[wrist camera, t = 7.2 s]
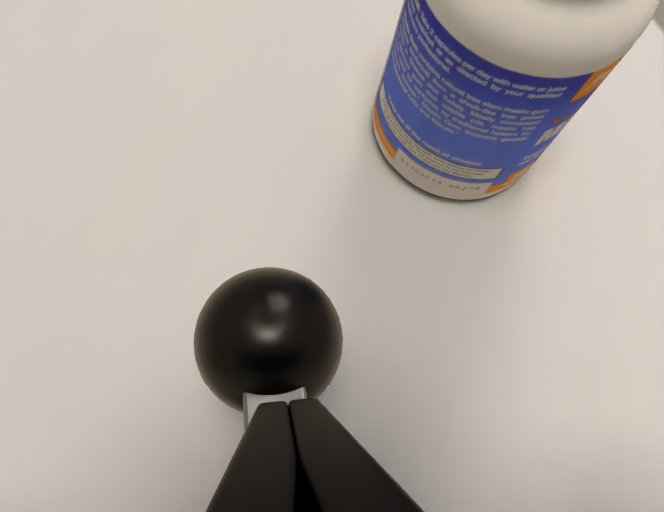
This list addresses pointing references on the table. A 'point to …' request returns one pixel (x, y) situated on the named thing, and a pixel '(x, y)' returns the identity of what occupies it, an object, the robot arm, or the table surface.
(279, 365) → the lever
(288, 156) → the table surface
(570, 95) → the pill bottle
